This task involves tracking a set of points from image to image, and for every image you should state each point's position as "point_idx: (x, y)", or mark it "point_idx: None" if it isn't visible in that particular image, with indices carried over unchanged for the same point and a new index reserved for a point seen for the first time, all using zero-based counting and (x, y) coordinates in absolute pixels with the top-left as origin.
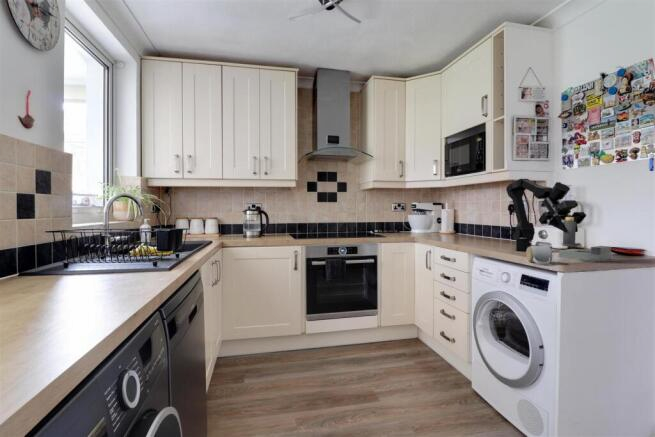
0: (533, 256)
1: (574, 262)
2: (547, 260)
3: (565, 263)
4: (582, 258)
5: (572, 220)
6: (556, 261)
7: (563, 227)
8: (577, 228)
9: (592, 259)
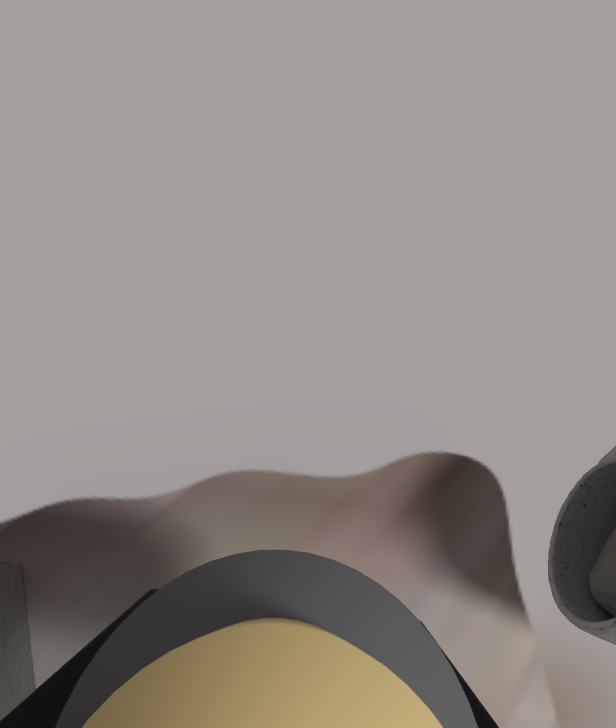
0: None
1: (304, 545)
2: (609, 493)
3: (422, 509)
4: None
5: (277, 621)
6: (427, 622)
7: (480, 713)
8: (114, 624)
9: (21, 624)
